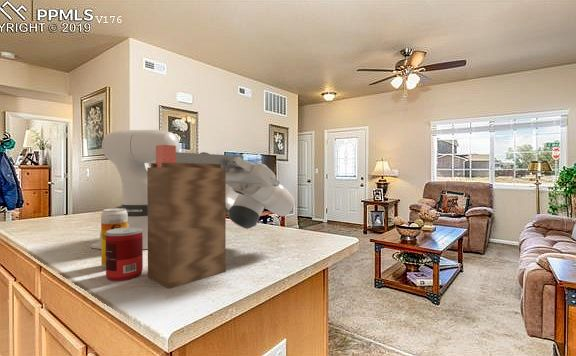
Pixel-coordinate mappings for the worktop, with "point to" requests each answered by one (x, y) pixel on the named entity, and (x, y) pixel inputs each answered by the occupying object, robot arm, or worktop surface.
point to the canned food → (124, 253)
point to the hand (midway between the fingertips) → (224, 159)
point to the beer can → (111, 226)
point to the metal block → (192, 157)
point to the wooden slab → (186, 222)
